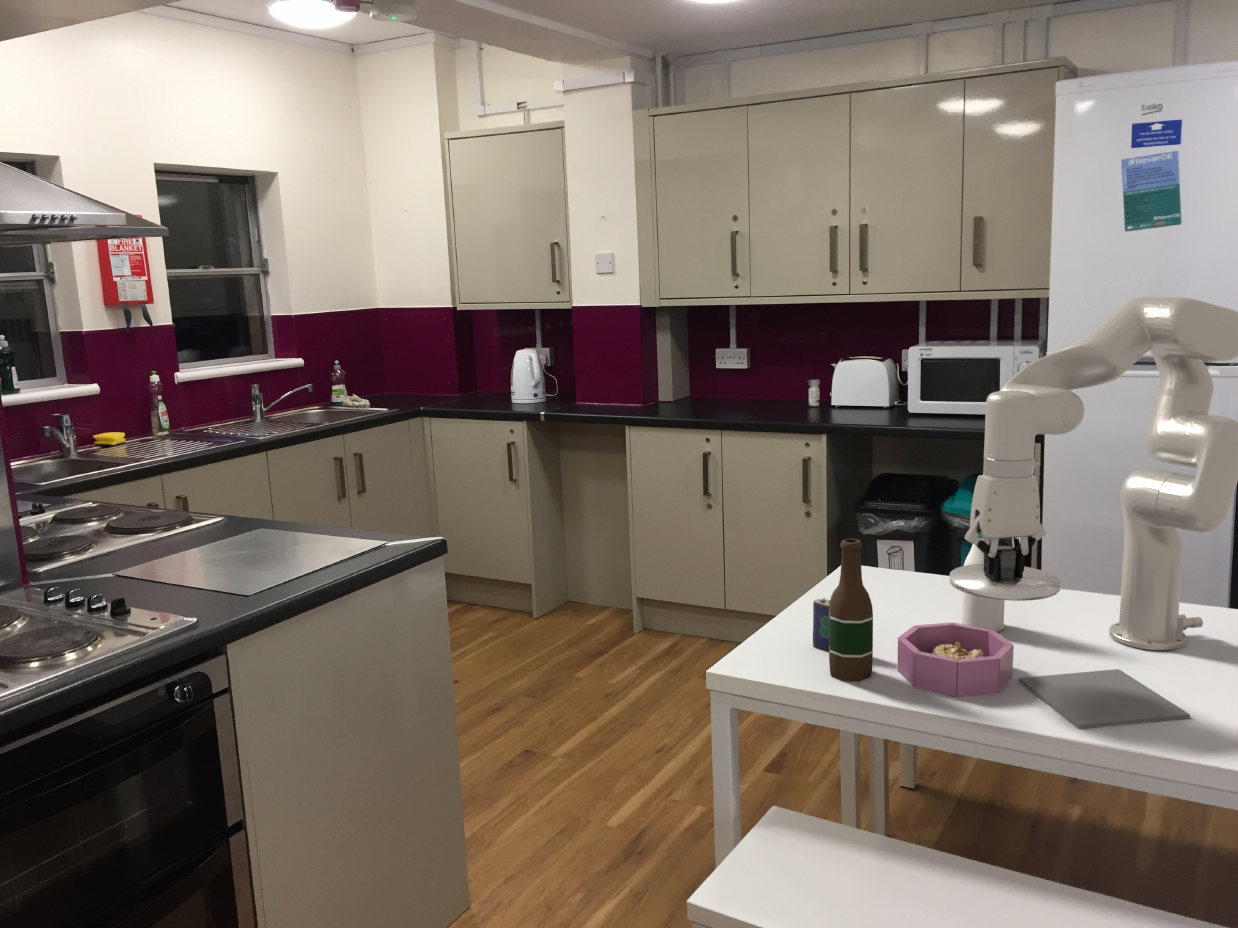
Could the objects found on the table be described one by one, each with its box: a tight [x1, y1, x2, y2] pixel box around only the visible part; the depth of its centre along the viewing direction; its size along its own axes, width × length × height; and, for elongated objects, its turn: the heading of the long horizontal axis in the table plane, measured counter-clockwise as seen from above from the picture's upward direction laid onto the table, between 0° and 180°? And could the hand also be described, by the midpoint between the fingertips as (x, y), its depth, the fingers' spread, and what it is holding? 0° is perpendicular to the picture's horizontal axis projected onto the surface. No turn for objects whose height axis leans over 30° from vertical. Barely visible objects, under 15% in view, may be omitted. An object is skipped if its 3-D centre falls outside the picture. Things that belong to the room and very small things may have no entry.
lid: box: [948, 545, 1061, 602], centre depth 165 cm, size 17×17×6 cm
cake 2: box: [932, 642, 985, 659], centre depth 175 cm, size 10×10×5 cm
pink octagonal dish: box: [897, 622, 1015, 698], centre depth 173 cm, size 17×17×6 cm
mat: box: [1017, 668, 1191, 730], centre depth 162 cm, size 18×18×1 cm
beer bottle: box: [828, 538, 874, 683], centre depth 173 cm, size 8×8×24 cm
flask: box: [812, 594, 832, 653], centre depth 185 cm, size 9×3×11 cm, turn 50°
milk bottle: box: [960, 533, 1006, 633], centre depth 193 cm, size 8×8×20 cm
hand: (1003, 576), depth 166 cm, fingers closed on lid, 3 cm apart
